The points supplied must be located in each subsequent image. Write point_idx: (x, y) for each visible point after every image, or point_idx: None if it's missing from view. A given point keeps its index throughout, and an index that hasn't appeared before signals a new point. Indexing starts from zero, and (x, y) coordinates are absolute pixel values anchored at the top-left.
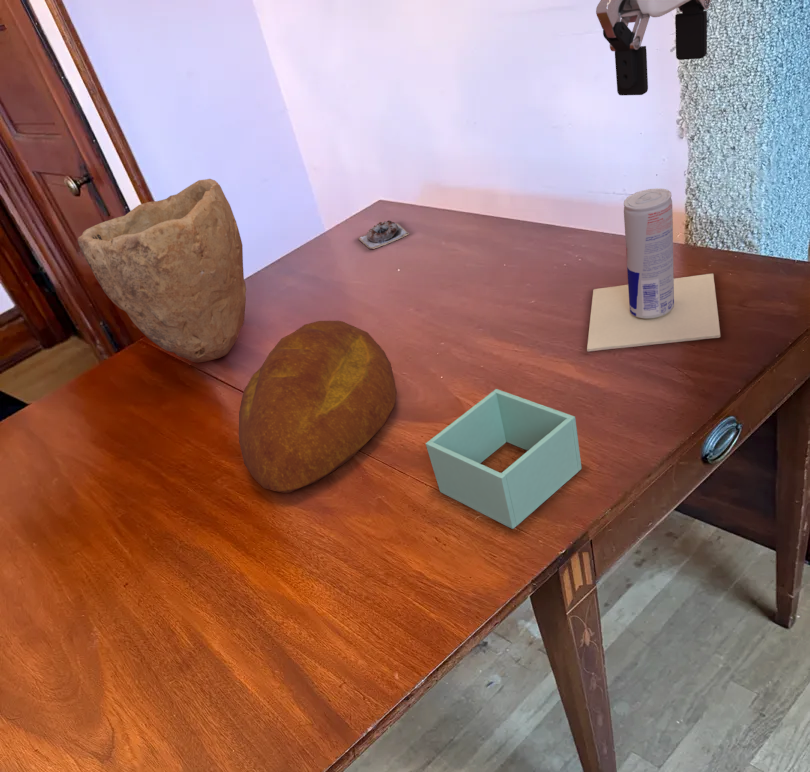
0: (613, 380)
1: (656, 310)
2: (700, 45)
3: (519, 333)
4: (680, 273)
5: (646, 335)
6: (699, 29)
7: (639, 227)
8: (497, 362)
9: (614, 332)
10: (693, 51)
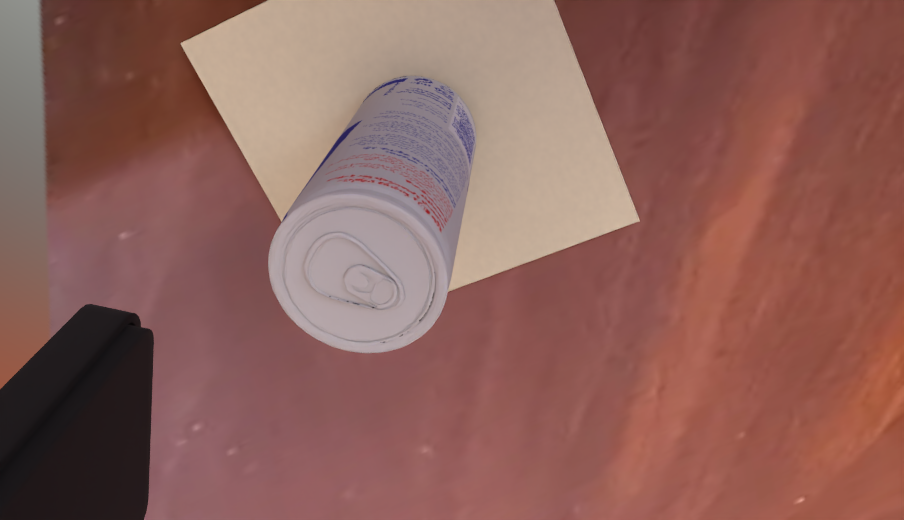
0: (767, 91)
1: (462, 106)
2: (108, 385)
3: (578, 416)
4: (193, 140)
5: (548, 93)
6: (30, 489)
7: (455, 243)
8: (718, 408)
9: (546, 185)
10: (132, 417)
